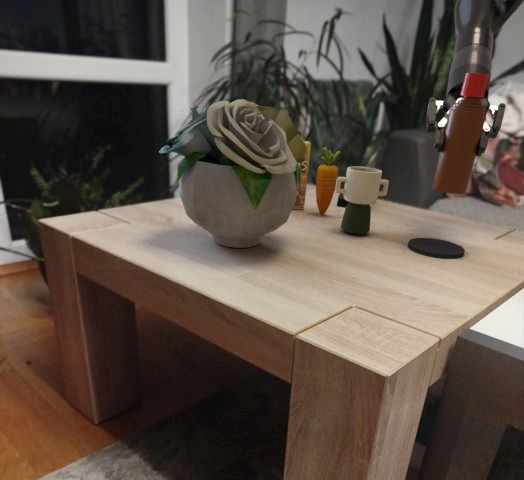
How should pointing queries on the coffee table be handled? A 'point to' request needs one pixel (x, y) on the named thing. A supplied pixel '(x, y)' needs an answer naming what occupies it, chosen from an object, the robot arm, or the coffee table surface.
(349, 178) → the cream green handled vessel
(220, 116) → the flower arrangement
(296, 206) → the candy box
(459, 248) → the coaster
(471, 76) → the cap
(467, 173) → the bottle
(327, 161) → the carrot
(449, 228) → the coffee table surface
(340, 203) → the vhs tape
